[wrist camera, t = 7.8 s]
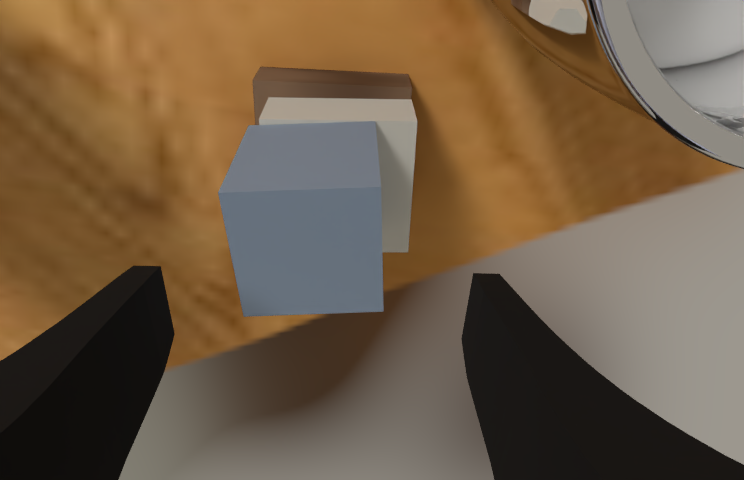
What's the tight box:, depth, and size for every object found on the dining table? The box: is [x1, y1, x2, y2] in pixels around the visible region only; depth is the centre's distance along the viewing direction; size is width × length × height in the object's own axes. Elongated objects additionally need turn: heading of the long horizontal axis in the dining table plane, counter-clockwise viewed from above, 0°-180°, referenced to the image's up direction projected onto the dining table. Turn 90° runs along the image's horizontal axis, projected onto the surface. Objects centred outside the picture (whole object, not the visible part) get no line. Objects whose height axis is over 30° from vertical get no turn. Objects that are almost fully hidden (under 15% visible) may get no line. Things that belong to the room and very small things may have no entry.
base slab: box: [253, 67, 412, 125], centre depth 21 cm, size 6×6×2 cm
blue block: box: [218, 121, 383, 317], centre depth 16 cm, size 4×4×4 cm
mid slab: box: [259, 97, 417, 252], centre depth 19 cm, size 5×5×2 cm
